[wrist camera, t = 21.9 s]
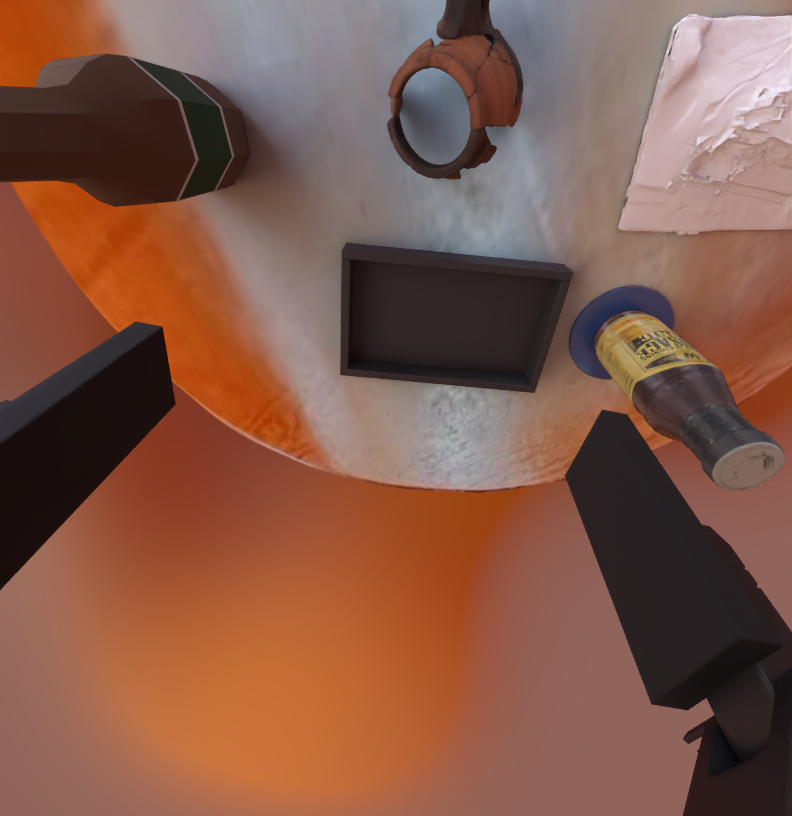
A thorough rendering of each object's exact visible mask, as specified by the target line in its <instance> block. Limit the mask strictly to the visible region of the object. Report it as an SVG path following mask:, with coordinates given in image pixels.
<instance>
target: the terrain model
mask: <svg viewBox="0 0 792 816" xmlns="http://www.w3.org/2000/svg"><path fill="white" fill-rule="evenodd" d="M677 27H678V29H677V32H676V34H675V38H674V33H675V30H676V28H677ZM672 30H673V31H672V32H671V38H670V39H669V44H668V46H667V51H666V55H665V57H664V62H663V65H662V68H661V71H660V73H659V78H658V82H657V86H656V90H655V93H654V97H653V101H652V105H651V108H650V111H649V114H648V120H647V122H646V125H645V127H644V131H643V135H642V140H641V143H642V144H641V145H640V148H639V149H638V150H639V151H638V154H637V156H638V157H637V162H636V163H635V166H634V168H633V169H634V171H633V172H634V173H633V176H632V181H631V184H630V186H629V187H628V188H627V194H626V197H628V200H627V201H626V202H627V203H626V205H625V208H624V206H623V210H622V215H621V219H620V223H619V226H618V229H620V230H622V231H647V232H650V231H656V232H660V231H661V232H662V233H660V234H659V235H661V234H663V233H665V232H675V231H677V232H678V233H679V234H680V236H681V235H682V234H683V235H685V234H686V233H687V234H690V235H693V234H696V235H697V234H698V233H699V232H700V231H701V232H703V231H708V232H711V231H718V230H792V15H789V16H785V15H784V16H774V17H762V16H748V15H747V16H745V15H744V16H740V15H739V16H731V17H727V18H724V17H723V18H721V17H720V18H717V17H716V18H713V19H711V17H710V18H709V17H701V16H700V15H697V14H691V15H689V14H688V15H687V17H686V18H683V19H682V20H681V22H680V21H679V22H678V23H677V24H676V25H675V26H674V27H673V28H672ZM673 38H674V41H673ZM672 44H673V45H672ZM671 46H672V50H671V54H670V56H668V54H669V51H670V49H671ZM707 176H709V178H708V177H707ZM625 199H626V198H625ZM677 232H676V233H677ZM680 232H681V233H680ZM645 233H646V232H645ZM651 234H652V233H651ZM672 234H673V233H672ZM679 234H678V235H679Z"/></svg>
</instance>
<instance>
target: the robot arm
mask: <svg viewBox="0 0 792 816" xmlns="http://www.w3.org/2000/svg"><path fill="white" fill-rule="evenodd" d="M175 404H176V403H175V397H174V392H173V386H172V380H171V374H170V368H169V362H168V356H167V351H166V345H165V339H164V333H163V327H162V326H156V325H151V324H146V323H140V322H134V323H133V324H131V325H130V326H128V327H127V328H125V329H123V330H122V331H120V332H119V333H117V334H116V335H114V336H113V337H111V338H109V339H108V340H106V341H105V342H103V343H102V344H100V345H99V346H97V347H96V348H94V349H92V350H91V351H89V352H88V353H86V354H84V355H83V356H81V357H80V358H78V359H77V360H75V361H74V362H72V363H70V364H69V365H67V366H66V367H64V368H63V369H61V370H60V371H58V372H56V373H55V374H53V375H52V376H50V377H49V378H47V379H45V380H44V381H42V382H41V383H39V384H38V385H36V386H35V387H33V388H31V389H30V390H28V391H27V392H25V393H24V394H22V395H21V396H19V397H18V398H16V399H14V400H13V401H8V400H6V401H4V402H1V403H0V590H1V589H2V588H3V587H4V585H5V584H6V583H7V582H8V581H9V580H10V579H11V578H12V577H13V576H14V575H15V574H16V573H17V572H18V571H19V570H20V569H21V567H22V566H23V565H24V564H25V563H26V562H27V561H28V560H29V559H30V558H31V557H32V556H33V555H34V554H35V553H36V552H37V550H39V548H40V547H41V546H42V545H43V544H44V543H45V542H46V541H47V540H48V539H49V538H50V537H51V536H52V535H53V534H54V532H55V531H56V530H57V529H58V528H59V527H60V526H61V525H62V524H63V523H64V522H65V521H66V520H67V518H69V517H70V515H72V513H73V512H74V511H75V510H76V509H77V508H78V507H79V506H80V505H81V504H82V503H83V502H84V501H85V500H86V499H87V498H88V496H89V495H90V494H91V493H92V492H93V491H94V490H95V489H96V488H97V487H98V486H99V485H100V484H101V483H102V482H103V481H104V480H105V478H107V476H108V475H109V474H110V473H111V472H112V471H113V470H114V469H115V468H116V467H117V466H118V465H119V464H120V463H121V462H122V460H123V459H124V458H125V457H126V456H127V455H128V454H129V453H130V452H131V451H132V450H133V449H134V448H135V447H136V446H137V445H138V444H139V442H140V441H141V440H142V439H143V438H144V437H145V436H146V435H147V434H148V433H149V432H150V431H151V430H152V429H153V428H154V427H155V426H156V425H157V423H158V422H159V421H160V420H161V419H162V418H163V417H164V416H165V415H166V414H167V413H168V412H169V411H170V410H171V408H173V406H174V405H175ZM565 477H566V479H567V482H568V485H569V487H570V490H571V493H572V495H573V498H574V501H575V503H576V506H577V509H578V511H579V514H580V517H581V519H582V522H583V524H584V527H585V530H586V532H587V535H588V538H589V540H590V543H591V546H592V548H593V551H594V554H595V556H596V559H597V562H598V564H599V567H600V569H601V572H602V575H603V577H604V580H605V583H606V585H607V588H608V590H609V593H610V596H611V599H612V601H613V604H614V606H615V609H616V612H617V614H618V617H619V620H620V622H621V625H622V627H623V630H624V633H625V636H626V638H627V641H628V644H629V646H630V649H631V652H632V654H633V657H634V659H635V662H636V665H637V667H638V670H639V673H640V675H641V678H642V680H643V683H644V685H645V688H646V691H647V694H648V696H649V699H650V701H651V704H653V705H659V706H665V707H671V708H677V709H683V710H689V709H690V708H692V707H693V706H695V705H696V704H698V703H699V702H701V701H702V700H704V699H705V698H707V700H708V702H709V704H710V706H711V708H712V710H713V712H714V714H715V715H714V716H712V717H711V718H709V719H708V720H706V721H704V722H703V723H701V724H699V725H698V726H696V727H695V728H693V729H691V730H690V731H688V732H687V734H686V735H685V736H684V738H683V740H684V741H686V742H687V743H688V744H689V743H691V742H693V741H695V740H696V739H698V738H700V737H702V740H701V744H700V748H699V750H698V751H697V752H698V756H697V760H696V764H695V768H694V772H693V776H692V780H691V784H690V788H689V793H688V797H687V801H686V805H685V809H684V813H683V816H792V632H791V630H790V629H789V628H788V626H787V625H786V623H785V622H784V620H783V619H782V618H781V616H780V615H779V613H778V612H777V611H776V609H775V608H774V606H773V605H772V604H771V602H770V601H769V599H768V598H767V596H766V595H765V594H764V592H763V591H762V590H761V588H758V587H757V582H756V581H755V580H754V578H753V577H752V575H751V574H750V573H749V571H747V570H745V569H744V568H745V566H744V564H743V563H742V561H741V560H740V559H739V557H738V556H737V554H736V553H735V552H734V550H733V549H732V547H731V546H730V545H729V544H728V543H727V542H726V541H725V540H724V539H723V538H722V537H720V536H719V535H718V534H717V533H716V532H715V531H714V530H713V529H712V528H711V527H710V526H706V525H702V524H701V523H700V521H699V520H698V519H697V517H696V516H695V514H694V513H693V511H692V510H691V509H690V507H689V505H688V504H687V503H686V501H685V499H684V498H683V496H682V495H681V493H680V492H679V490H678V489H677V488H676V486H675V485H674V483H673V482H672V480H671V479H670V477H669V476H668V474H667V473H666V471H665V470H664V468H663V467H662V465H661V464H660V462H659V461H658V459H657V458H656V456H655V455H654V454H653V452H652V451H651V449H650V448H649V446H648V445H647V443H646V442H645V440H644V439H643V437H642V436H641V434H640V433H639V431H638V430H637V428H636V427H635V425H634V424H633V423H632V421H631V420H630V418H629V417H628V415H627V414H622V413H617V412H612V411H606V410H602V411H601V413H600V415H599V416H598V418H597V420H596V422H595V423H594V425H593V427H592V429H591V430H590V432H589V434H588V436H587V438H586V439H585V441H584V443H583V445H582V446H581V448H580V450H579V452H578V453H577V455H576V457H575V459H574V460H573V462H572V464H571V466H570V468H569V469H568V471H567V473H566V475H565Z"/></svg>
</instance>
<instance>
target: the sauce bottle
mask: <svg viewBox="0 0 792 816" xmlns="http://www.w3.org/2000/svg"><path fill="white" fill-rule="evenodd" d="M594 345H595V351H596V353H597V356H598V359H599V361H600V362H601V364H602V365H603V366H604V368H605V369H606V370H607V372H608V373H609V374H610V376H611V377H612V378H613V380H614V381H615V382H616V384H617V385H618V386H619V388H620V389H621V390H622V392H623V393H624V394H625V396H626V397H627V398H628V400H629V401H630V402H631V404H632V405H633V406H634V408H635V409H636V410H637V411H638V412H639V413H640V414H641V415H642V416H643V417H644V419H645V421H646V422H647V423H648V424H649V425H650V426H651V427H652V428H653V430H654V431H656V432H657V433H659V434H661V435H663V436H665V437H668V438H671V439H673V440H678V441H683V444H685V445H686V446H687V447H688V448H689V449H691V451H692V452H693V453H694V454H695V455H696V456H697V458H698V459H699V460H700V461H701V464H702V468H703V470H704V471H705V473H706V474H707V475H708V476H709V478H711V480H712V481H713V482H714V483H715V484H717V485H718V486H720V487H722V488H724V489H728V490H744V489H749V488H753V487H756V486H758V485H760V484H762V483H764V482H767V481H769V480H770V479H771V478H773V477H774V476H775V475H776V474H777V473H778V472H779V471H780V470H781V469H782V467H783V465H784V462H785V454H784V452H783V450H782V448H781V447H780V445H779V444H778V443H777V442H776V441H775V440H774V439H772V437H771V436H770V435H768V434H767V433H765V432H762V431H759V430H758V429H756V428H755V427H754V426H753V425H752V424H751V423H750V422H749V421H747V420H746V419H745V418H744V417H743V416H742V414H741V413H740V411H739V410H738V407H737V405H736V403H735V401H734V398H733V396H732V394H731V391H730V389H729V387H728V384H727V382H726V380H725V378H724V375H723V373H722V371H721V370H720V369H718V368H717V367H716V366H715V365H714V364H712V363H711V362H710V361H709V360H708V359H706V358H705V357H704V356H703V355H701V354H700V353H699V352H698V351H697V350H695V349H694V348H693V347H692V346H691V345H689V344H688V343H687V342H685V341H684V340H683V339H682V338H681V337H679V336H678V335H677V334H675V333H674V332H673V331H672V330H670V329H669V328H668V327H667V326H666V325H664V324H663V323H662V322H661V321H659V320H658V319H657V318H655V317H653V316H650V315H647V314H645V313H644V312H641V311H635V310H633V311H627V312H623V313H620V314H618V315H615V316H613V317H611V318H609V319H608V320H607V321H606V322H605V323H604V324H603V326H602V327H601V328H600V330H599V331H598V332H597V335H596V337H595V344H594Z"/></svg>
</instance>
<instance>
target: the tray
mask: <svg viewBox="0 0 792 816" xmlns="http://www.w3.org/2000/svg"><path fill="white" fill-rule="evenodd" d="M572 275H573V272H572V271H571V270H570V269H569V268H567V267H566V266H565V265H564V264H555V263H545V262H535V261H525V260H515V259H505V258H494V257H484V256H474V255H464V254H454V253H444V252H434V251H423V250H413V249H403V248H393V247H383V246H373V245H363V244H352V243H346V244H345V246H344V247H343V249H342V276H341V358H340V375H347V376H357V377H368V378H379V379H390V380H401V381H412V382H423V383H434V384H444V385H455V386H466V387H477V388H488V389H499V390H510V391H521V392H531V393H535V390H536V386H537V384H538V381H539V378H540V374H541V371H542V368H543V365H544V362H545V359H546V356H547V353H548V350H549V347H550V344H551V340H552V337H553V334H554V331H555V328H556V325H557V322H558V319H559V316H560V313H561V310H562V306H563V303H564V300H565V297H566V294H567V291H568V288H569V285H570V281H571V278H572Z"/></svg>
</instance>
